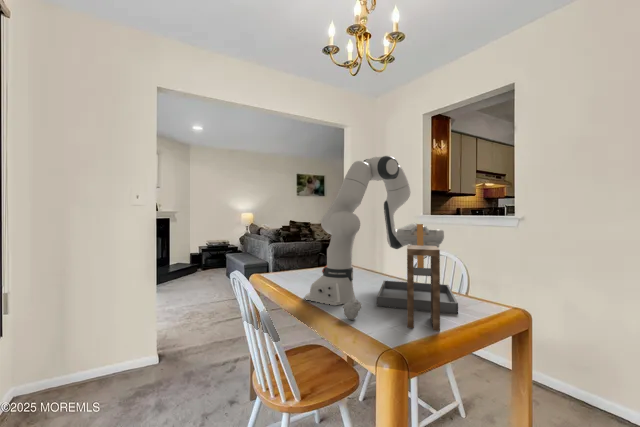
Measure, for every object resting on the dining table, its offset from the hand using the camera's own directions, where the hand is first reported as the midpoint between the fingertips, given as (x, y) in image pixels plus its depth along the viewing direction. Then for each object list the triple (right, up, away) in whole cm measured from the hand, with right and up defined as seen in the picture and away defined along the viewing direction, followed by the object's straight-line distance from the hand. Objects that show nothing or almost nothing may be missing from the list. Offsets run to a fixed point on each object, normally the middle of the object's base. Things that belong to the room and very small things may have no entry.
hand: (420, 227), depth 124 cm
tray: (-1, -32, +2) cm, 32 cm away
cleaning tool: (0, -10, 0) cm, 10 cm away
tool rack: (-8, -32, -25) cm, 41 cm away
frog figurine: (-32, -32, -22) cm, 50 cm away
